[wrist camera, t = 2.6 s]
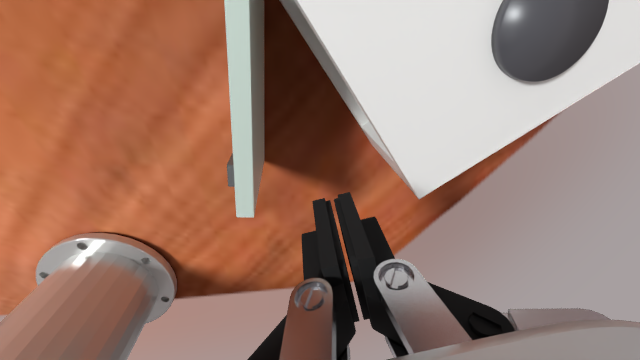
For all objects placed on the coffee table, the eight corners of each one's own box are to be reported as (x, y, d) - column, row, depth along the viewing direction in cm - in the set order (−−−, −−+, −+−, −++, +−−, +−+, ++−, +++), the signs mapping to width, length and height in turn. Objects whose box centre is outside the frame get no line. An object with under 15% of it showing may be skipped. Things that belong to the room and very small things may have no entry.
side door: (241, 158, 24) (218, 217, 16) (234, -20, 18) (193, -72, 10) (264, 159, 24) (253, 217, 16) (264, -16, 19) (247, -64, 10)
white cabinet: (372, 145, 25) (423, 204, 16) (258, -33, 19) (230, -112, 9) (512, 50, 23) (670, 53, 13) (440, -194, 16) (657, -530, 7)
